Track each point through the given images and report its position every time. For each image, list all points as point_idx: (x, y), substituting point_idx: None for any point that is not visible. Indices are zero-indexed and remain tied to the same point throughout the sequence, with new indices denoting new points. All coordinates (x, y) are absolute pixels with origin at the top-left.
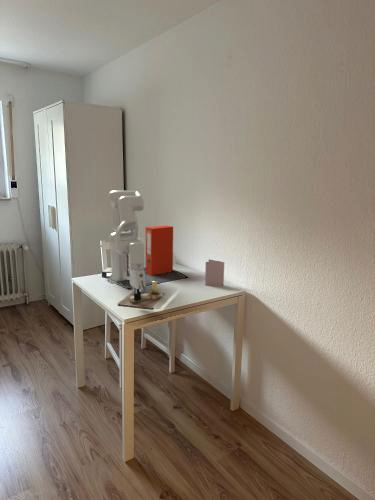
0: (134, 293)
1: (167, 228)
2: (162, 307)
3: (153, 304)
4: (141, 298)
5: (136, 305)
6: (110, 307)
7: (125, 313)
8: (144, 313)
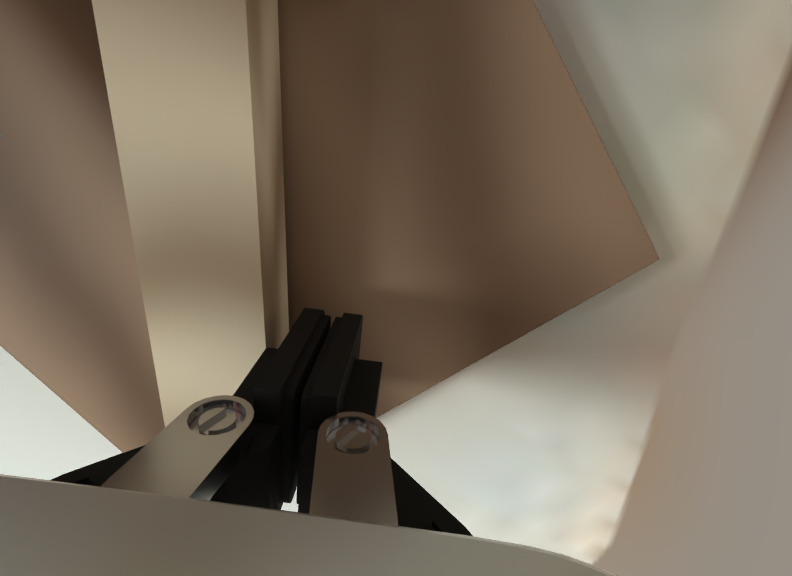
0: (277, 509)
1: None
2: (693, 24)
3: (582, 162)
4: (273, 241)
5: (417, 393)
6: None
7: (467, 525)
8: (636, 387)
